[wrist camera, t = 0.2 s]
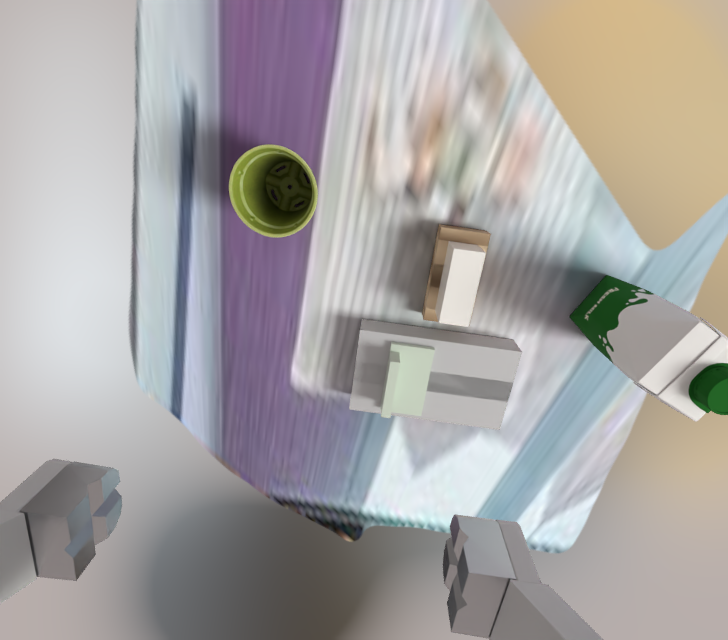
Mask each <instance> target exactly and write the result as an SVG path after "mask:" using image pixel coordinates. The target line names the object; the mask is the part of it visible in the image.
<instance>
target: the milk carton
mask: <svg viewBox="0 0 728 640" xmlns="http://www.w3.org/2000/svg"><path fill="white" fill-rule="evenodd" d="M569 317H570V318H571V319H572V320H573V322H574V323H575V324H576V325H577V326H578V327H579V329H580V330H581V331H582V332H583V333H584V334H585V336H586V337H587V338H588V339H589V340H590V342H591V343H592V344H593V345H594V346H595V347H596V348H597V349H598V350H599V351H600V352H601V353H602V354H604V355H605V356H606V357H607V358H608V359H609V360H610V361H611V362H612V363H613V364H614V365H615V366H617V367H618V368H619V369H620V370H621V371H622V372H623V373H624V374H625V375H626V376H628V377H629V378H630V379H631V380H633V381H634V382H633V383H635V382H636V383H637V384H636V383H635V384H636V385H637V386H639V385H640V386H639V387H640V388H641V389H643V388H645V389H646V390H648V391H649V392H648V391H646V390H645V389H643V390H644V391H646V392H647V393H649V394H651V395H652V396H654V397H656V398H657V399H658V400H660V401H662V402H663V403H665V404H666V405H668V406H670V407H671V408H673V409H674V410H676V411H678V412H680V413H681V414H683V415H685V416H687V417H688V418H690V419H692V420H694V421H698V420H699V419H700V418H701V417H702V416H703V415H704V414H705V413H709V412H710V411H713V412H714V413H717V414H720V415H728V337H726V336H725V335H724V334H723V333H721V332H720V331H719V330H717V329H716V328H715V327H714V326H712V325H711V324H710V323H708V322H707V321H705V320H704V319H703V318H701V319H702V320H704V321H705V322H706V323H708V324H709V325H710V326H711V327H712V328H714V330H715V331H714V330H713V329H712V328H711V327H709V326H708V325H707V324H705V323H704V322H702V320H700V319H699V318H698V317H696V316H695V315H693V314H691V313H690V312H688V311H686V310H684V309H682V308H680V307H678V306H677V305H675V304H673V303H671V302H669V301H667V300H665V299H663V298H661V297H659V296H657V295H655V294H653V293H651V292H649V291H647V290H645V289H642V288H640V287H637V286H635V285H632V284H629V283H627V282H624V281H621V280H619V279H616V278H614V277H611V276H608V275H606V276H605V277H604V278H603V279H602V281H601V282H600V283H599V284H598V285H597V286H596V287H595V288H594V290H593V291H592V292H591V293H590V294H589V295H588V296H587V297H586V298H585V300H584V301H583V302H582V303H581V304H580V305H579V306H578V307H577V308H576V310H575V311H574V312H573V313H572V314H571V315H570V316H569ZM638 384H639V385H638ZM641 386H642V387H643V388H642V387H641ZM650 392H651V393H650ZM652 393H653V394H652Z"/></svg>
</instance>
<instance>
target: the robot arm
mask: <svg viewBox="0 0 728 640" xmlns="http://www.w3.org/2000/svg"><path fill="white" fill-rule="evenodd" d="M119 482H120V477H119V471H118V470H116V469H114V468H110V467H104V466H98V465H92V464H85V463H79V462H70V461H64V460H58V459H52V460H49V461H46V462H45V463H44V464H43V465H42V466H41V467H39V468H38V469H37V470H36V471H35V472H34V473H33V474H32V475H30V476H29V477H28V478H27V479H26V480H25V481H24V482H23V483H21V484H20V485H19V486H18V487H17V488H16V489H15V490H14V491H13V492H11V493H10V494H9V495H8V496H7V497H6V498H5V499H4V500H2V501H1V502H0V604H1V603H2V602H4V601H5V600H6V599H8V598H9V597H11V596H12V595H14V594H15V593H17V592H19V591H20V590H21V589H23V588H24V587H26V586H27V585H29V584H30V583H32V582H33V581H35V580H36V579H37V577H45V578H54V579H63V580H73V581H77V579H78V578H79V576H80V575H81V574H82V573H83V571H84V570H85V568H86V567H87V566H88V564H89V563H90V562H91V560H92V559H93V558H94V556H95V554H96V553H95V545H97V544H98V543H100V542H102V541H103V540H105V539H107V538H108V537H109V536H110V534H111V533H112V531H113V530H114V528H115V527H116V524H117V522H118V519H119V517H120V514H121V508H122V498H121V495H120V494H119V493H118V492H117V490H116V489H115V487H116V486H117V485H118V483H119ZM450 530H451V536H452V537H451V538H449V539H448V540H447V541H446V544H445V549H444V556H443V576H444V584H445V585H446V587H447V588H448V589H449V590H450V594H449V597H448V601H447V606H448V613H449V620H450V626H451V632H453V633H459V634H465V635H472V636H477V637H483V638H489V640H603V639H602V638H601V637H600V636H599V635H598V634H597V633H596V632H595V631H594V630H593V629H592V628H591V627H590V626H589V625H588V624H587V623H586V622H585V621H584V620H583V619H582V618H581V617H580V616H579V615H578V614H577V613H576V612H575V611H574V610H573V609H572V608H571V607H570V606H569V605H568V604H567V603H566V602H565V601H564V600H563V599H562V598H561V597H560V596H559V595H558V594H557V593H556V592H555V591H554V590H553V589H552V588H551V587H550V586H549V585H546V584H542V583H541V581H540V578H539V575H538V573H537V570H536V567H535V565H534V562H533V559H532V557H531V554H530V551H529V548H528V546H527V543H526V540H525V538H524V535H523V532H522V530H521V527H520V525H519V524H518V523H517V522H511V521H503V520H493V519H485V518H478V517H470V516H462V515H454V517H453V518H452V521H451V525H450Z"/></svg>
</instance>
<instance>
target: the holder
mask: <svg viewBox="0 0 728 640" xmlns="http://www.w3.org/2000/svg"><path fill="white" fill-rule="evenodd" d="M490 235H491V234H490V233H489V232H487V231H485V230H477V229H470V228H463V227H456V226H448V225H441V224H439V226H438V232H437V237H436V242H435V247H434V253H433V258H432V263H431V269H430V274H429V279H428V284H427V290H426V295H425V300H424V306H423V311H422V315H423V319H424V320H429V321H436V322H438V319H437V315H436V312H435V307H436V302H437V297H438V292H439V287H440V282H441V277H442V272H443V267H444V262H445V257H446V252H447V247H448V242H449V241H452V242H459V243H467V244H474V245H478V246H480V247H481V248H482V249H483V250H484V251H485V252H487V248H488V244H489V239H490ZM485 257H486V255H485ZM484 261H485V259H484ZM483 265H484V264H483ZM482 269H483V268H482ZM481 274H482V272H481ZM480 278H481V277H480ZM479 282H480V281H479ZM478 287H479V285H478ZM477 291H478V289H477ZM476 295H477V294H476ZM475 299H476V298H475ZM474 304H475V302H474ZM473 308H474V307H473ZM472 312H473V311H472ZM471 317H472V315H471ZM470 321H471V320H470ZM469 325H470V324H469Z"/></svg>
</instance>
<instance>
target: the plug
mask: <svg viewBox="0 0 728 640" xmlns="http://www.w3.org/2000/svg"><path fill="white" fill-rule="evenodd" d="M485 255H486V252H485V251H484V250H483V249H482V248H481V247H480V246H478V245H474V244H467V243H459V242H452V241H449V242H448V247H447V252H446V257H445V262H444V267H443V272H442V277H441V282H440V287H439V292H438V297H437V302H436V307H435V312H436V315H437V319H438V322H439V323H443V324H451V325H458V326H465V327H469V324H470V320H471V315H472V311H473V307H474V302H475V298H476V294H477V289H478V285H479V281H480V277H481V272H482V268H483V264H484V259H485Z"/></svg>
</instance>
